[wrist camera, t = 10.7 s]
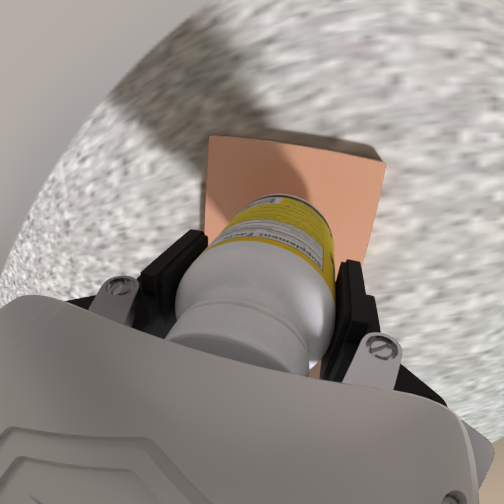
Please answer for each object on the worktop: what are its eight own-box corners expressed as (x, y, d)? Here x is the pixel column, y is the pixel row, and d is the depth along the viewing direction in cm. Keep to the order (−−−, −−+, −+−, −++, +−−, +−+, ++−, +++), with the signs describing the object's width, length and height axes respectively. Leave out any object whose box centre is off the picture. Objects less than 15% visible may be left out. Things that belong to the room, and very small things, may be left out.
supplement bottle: (305, 300, 16) (272, 456, 8) (221, 258, 17) (125, 387, 8) (353, 221, 14) (379, 373, 5) (256, 172, 14) (141, 260, 5)
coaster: (215, 135, 16) (209, 136, 16) (382, 161, 15) (386, 163, 14) (208, 277, 21) (203, 284, 20) (346, 305, 19) (346, 314, 18)
